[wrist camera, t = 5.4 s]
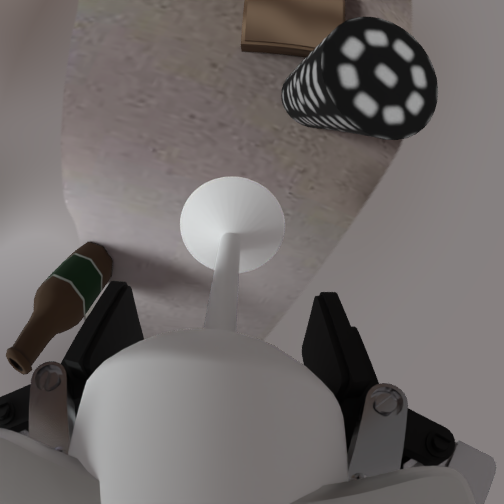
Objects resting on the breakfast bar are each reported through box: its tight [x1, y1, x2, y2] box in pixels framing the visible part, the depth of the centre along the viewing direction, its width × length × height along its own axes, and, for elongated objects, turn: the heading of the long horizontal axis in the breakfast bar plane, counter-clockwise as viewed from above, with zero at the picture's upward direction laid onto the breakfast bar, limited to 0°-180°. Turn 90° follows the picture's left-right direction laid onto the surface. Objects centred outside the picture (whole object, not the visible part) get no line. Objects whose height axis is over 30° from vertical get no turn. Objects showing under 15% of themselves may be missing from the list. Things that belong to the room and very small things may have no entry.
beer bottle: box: [6, 242, 113, 374], centre depth 30 cm, size 8×8×24 cm
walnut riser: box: [241, 0, 345, 57], centre depth 23 cm, size 12×12×4 cm
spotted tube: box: [281, 17, 438, 140], centre depth 21 cm, size 8×8×20 cm
